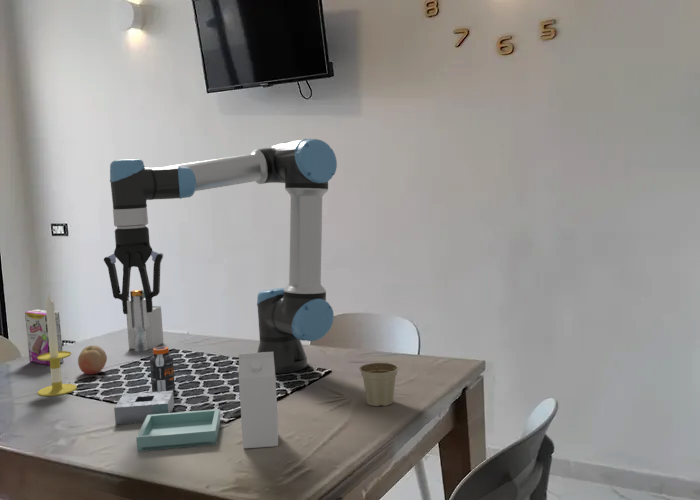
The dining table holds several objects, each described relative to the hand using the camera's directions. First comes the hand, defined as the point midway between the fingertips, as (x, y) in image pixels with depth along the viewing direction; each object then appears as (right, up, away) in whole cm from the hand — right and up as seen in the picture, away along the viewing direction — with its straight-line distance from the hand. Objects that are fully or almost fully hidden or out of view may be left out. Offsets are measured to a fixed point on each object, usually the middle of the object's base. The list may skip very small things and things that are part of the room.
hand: (139, 326), depth 165 cm
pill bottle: (0, -19, +23) cm, 30 cm away
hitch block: (+1, -21, +2) cm, 21 cm away
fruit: (-26, -18, +42) cm, 53 cm away
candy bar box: (-46, -18, +57) cm, 76 cm away
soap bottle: (-20, -15, +74) cm, 78 cm away
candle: (-30, -20, +26) cm, 45 cm away
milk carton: (+31, -22, -18) cm, 42 cm away
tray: (+13, -22, -12) cm, 29 cm away
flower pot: (+57, -19, +4) cm, 60 cm away
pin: (0, -5, +1) cm, 6 cm away
